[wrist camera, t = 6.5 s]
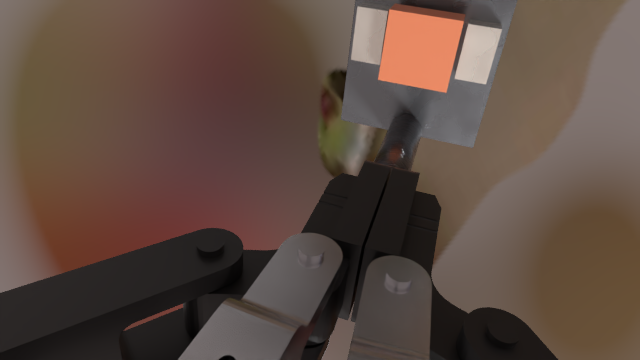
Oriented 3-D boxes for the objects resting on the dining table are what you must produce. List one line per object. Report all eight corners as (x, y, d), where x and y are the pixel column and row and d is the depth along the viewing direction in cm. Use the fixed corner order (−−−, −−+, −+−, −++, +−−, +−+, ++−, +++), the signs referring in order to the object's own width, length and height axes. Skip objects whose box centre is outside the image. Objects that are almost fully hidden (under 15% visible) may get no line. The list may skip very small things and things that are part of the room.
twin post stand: (376, -106, 30) (298, -111, 18) (539, -89, 28) (579, -81, 16) (347, 118, 38) (281, 219, 26) (470, 144, 36) (461, 268, 24)
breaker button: (401, -4, 31) (389, 9, 28) (467, 6, 31) (464, 21, 27) (390, 60, 34) (378, 79, 30) (451, 71, 33) (446, 92, 29)
